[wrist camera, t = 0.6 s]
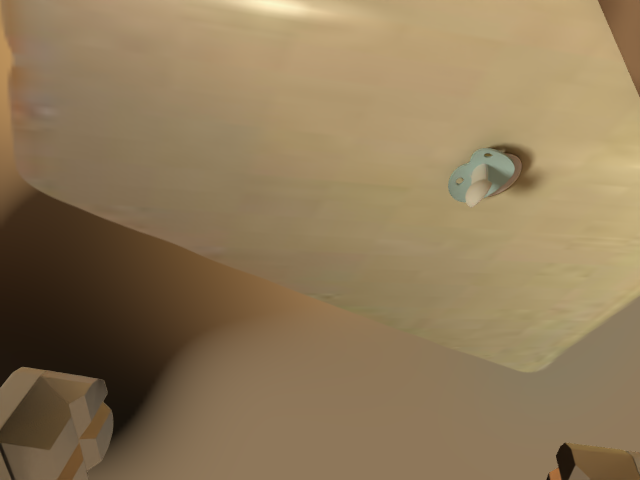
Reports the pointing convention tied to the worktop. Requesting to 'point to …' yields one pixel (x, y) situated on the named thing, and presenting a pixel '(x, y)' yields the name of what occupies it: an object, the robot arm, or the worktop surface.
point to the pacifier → (484, 176)
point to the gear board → (625, 32)
